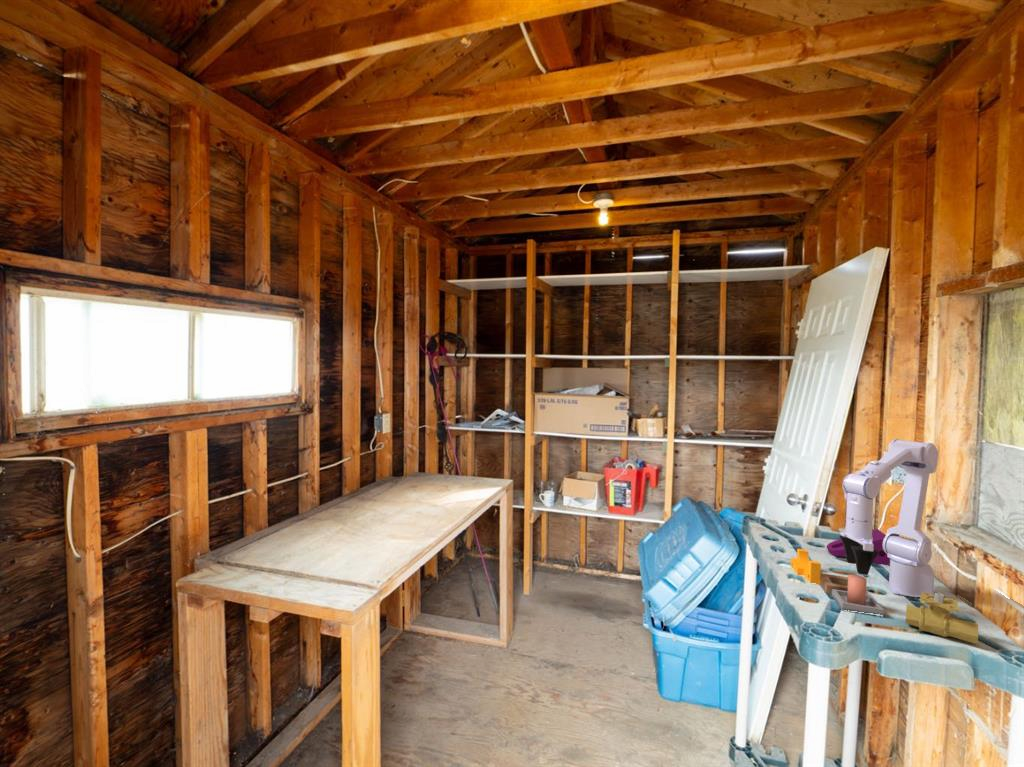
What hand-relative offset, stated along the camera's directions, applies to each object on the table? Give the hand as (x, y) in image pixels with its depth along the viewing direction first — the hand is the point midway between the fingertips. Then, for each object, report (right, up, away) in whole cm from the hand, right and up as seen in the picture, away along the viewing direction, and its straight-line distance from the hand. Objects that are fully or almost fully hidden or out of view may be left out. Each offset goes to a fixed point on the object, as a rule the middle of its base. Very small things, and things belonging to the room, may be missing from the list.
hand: (857, 568), depth 126 cm
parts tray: (-1, -10, -1) cm, 10 cm away
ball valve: (+10, -11, -13) cm, 20 cm away
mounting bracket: (+27, -11, +35) cm, 46 cm away
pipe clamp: (-3, -10, +18) cm, 21 cm away
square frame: (+1, -10, +9) cm, 13 cm away
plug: (-1, -9, -1) cm, 9 cm away
